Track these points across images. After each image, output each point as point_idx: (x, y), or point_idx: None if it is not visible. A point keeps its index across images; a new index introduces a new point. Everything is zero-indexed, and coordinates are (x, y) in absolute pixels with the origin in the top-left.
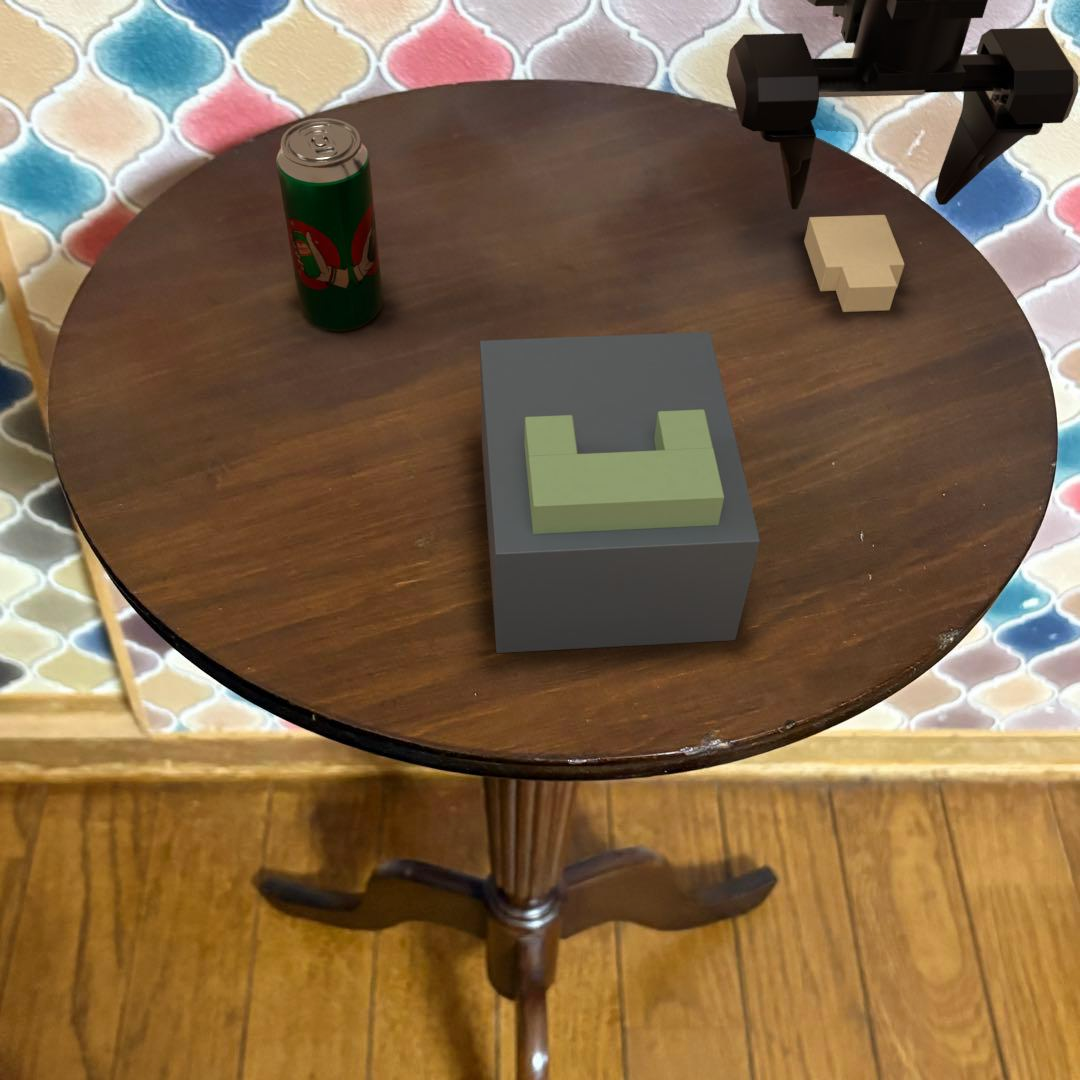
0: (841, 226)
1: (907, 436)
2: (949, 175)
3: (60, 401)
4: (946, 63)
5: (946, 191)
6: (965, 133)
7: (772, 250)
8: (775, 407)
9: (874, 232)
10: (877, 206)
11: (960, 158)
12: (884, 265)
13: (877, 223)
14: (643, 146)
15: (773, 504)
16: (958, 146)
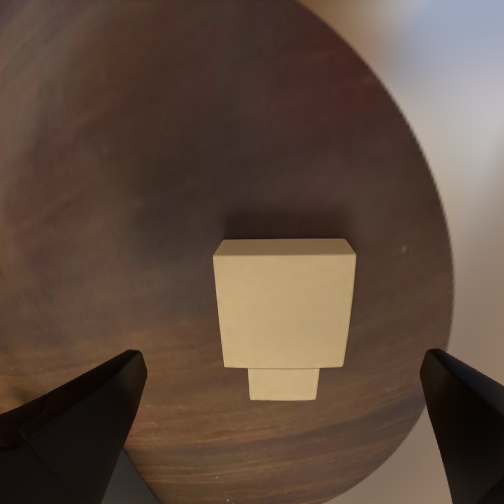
0: (266, 285)
1: (277, 471)
2: (443, 418)
3: None
4: None
5: (428, 408)
6: (493, 474)
7: (174, 255)
8: (176, 444)
9: (321, 302)
10: (367, 151)
11: (461, 456)
12: (312, 369)
13: (334, 278)
14: (47, 41)
15: (177, 483)
16: (479, 445)
